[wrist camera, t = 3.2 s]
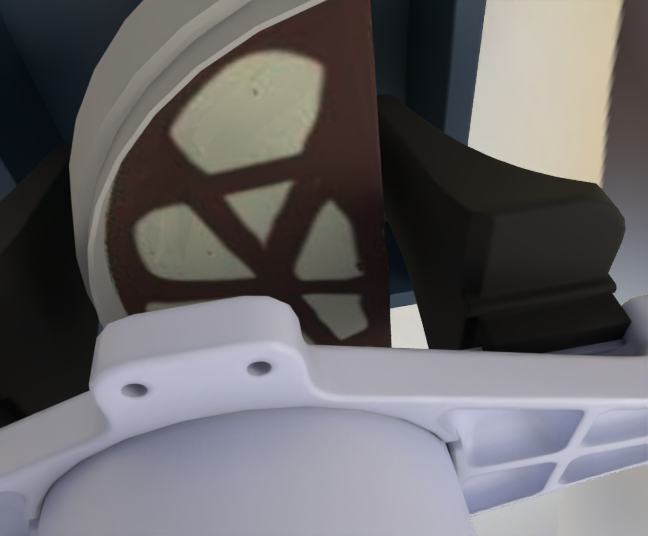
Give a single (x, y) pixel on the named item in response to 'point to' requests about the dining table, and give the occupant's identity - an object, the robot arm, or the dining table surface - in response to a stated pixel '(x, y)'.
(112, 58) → the food container
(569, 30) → the dining table surface
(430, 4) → the tote
